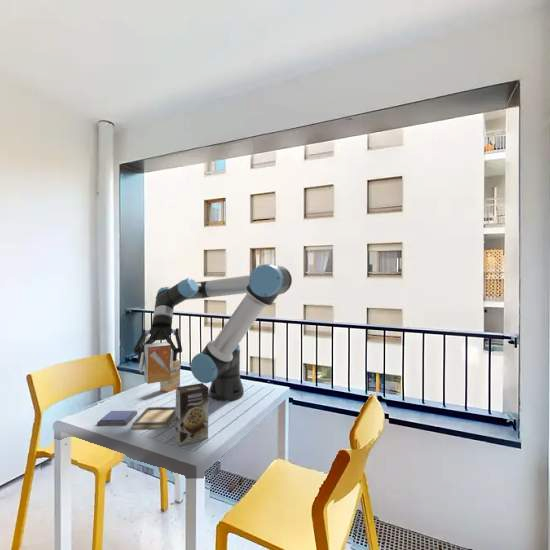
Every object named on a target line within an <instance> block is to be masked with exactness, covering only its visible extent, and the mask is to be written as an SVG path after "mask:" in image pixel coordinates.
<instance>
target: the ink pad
mask: <svg viewBox="0 0 550 550" xmlns="http://www.w3.org/2000/svg"><path fill="white" fill-rule="evenodd" d="M137 415H138V411H137V410H111V411H109V412H108V413H107V414H106V415H104V416H103V417H101V419H99V420H98V421H97V422H96V423H97V424H96V425H97V426H127V425H128V424H129V423H130V422H131V421H132V420H133V419H134V418H135V417H137ZM98 424H99V425H98Z"/></svg>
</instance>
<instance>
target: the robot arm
mask: <svg viewBox="0 0 550 550" xmlns="http://www.w3.org/2000/svg"><path fill="white" fill-rule="evenodd" d="M292 283H293V277H292V274H291V273H290V271H289V269H287V268H286V267H284V266H281V265H276V264H272V263H265V264H261V265H259V266H257V267H255V268H254V269H253V270H252V272H251V273H250V275H249V274H248V275H243V276H242V275H241V276H234V277H227V278H221V279H220V278H219V279H212V280H205V281H195V279H193V278H190V277H187V278H185V279H183V280H181V281H179V282H178V283H176V284H175V285H173V286H171V287H169V286H165V287H160V288H159V289H158V290H157V293H156V297H155V301H154V302H155V303H154V309H153V310H154V311H153V316H152V323H151V327H150V329H149V330H146V329H144V328H143V329H142V330H141V335H140V337H139V339H138V340H137V342H136V344H135V346H134V348H133V352H134V355H136V356H137V363H138V371H139V373H143V371H144V345H145V344H154V343H155V342H156V341H165V342H167V343H169V344H170V345H171V358H170V371H172V370H173V361H176V360H177V359H178V358H177V357H178V354H179V353H180V354H181V353H182V352H183V347H182V343H181V339H180V328H179V327H178V328H175V329H173V328H172V326H173V316H174V310H175V309H174V308H175V306H178V305H180V303H182V302H184V301H187V300H188V301H189V300H196V299H197V300H198V299H208V298H214V297H215V298H216V297H223V296H224V297H225V296H233V295H243V294H245V296H244V297H243V298H242V300H241V301H240V302H239V304H238V306H237V307H236V309H235V310H234V311H233V313H232V315H231V316H230V317H229V318H228V320H227V322H226V323H225V324H224V326H223V327H222V329H221V330H220V332H219V334H218V335H217V336H216V338H215V339H214V340H210V341H209V342H207V344H206V346H205V347H204V348H203V349H202V350H201V352H200V353H199V352H198V353H197V354H195V355H194V356H193V358H192V359H191V362H190V369H191V373H192V376H193V377H194V378H195V380H197V381H198V382H200V383H203V384H209V383H210V386H209V399H211V400H214V401H219V402H220V401H221V402H223V401H224V402H225V401H226V400H229V401H234V400H233V399H235V400H237V399H236V398H238V399H240V398H242V397H243V396H244V394H245V393H244V392H245V391H244V390H245V389H244V385H243V382H242V379H241V375H240V373H241V372H240V371H241V370H240V369H241V366H240V365H241V364H240V363H241V349H240V343H241V341H242V339H243V338H244V337H245V335H247V333H248V331H249V330H250V329H251V327H252V326H253V324H254V323H255V322H256V320H257V319H258V317H259V316H260V315H261V314H262V311H264V309H265V308H266V307H270V306H272V304H273V303H275V300H276V299H277V298H278V296H279V295H283V294H285V293H287V292H288V291H289V290H290V288H291V286H292ZM172 334H173V336H175V340H176V344H177V347H176V344H175V343H174V342H173V339H172V338H171V337H170V336H171V335H172ZM148 335H150V336H149V338H148V339H146V337H148ZM145 341H146V342H145ZM242 395H243V396H242ZM241 396H242V397H241ZM239 397H240V398H239ZM226 402H227V401H226Z"/></svg>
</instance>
